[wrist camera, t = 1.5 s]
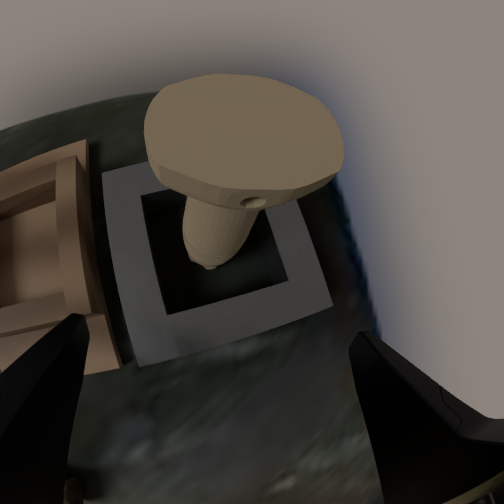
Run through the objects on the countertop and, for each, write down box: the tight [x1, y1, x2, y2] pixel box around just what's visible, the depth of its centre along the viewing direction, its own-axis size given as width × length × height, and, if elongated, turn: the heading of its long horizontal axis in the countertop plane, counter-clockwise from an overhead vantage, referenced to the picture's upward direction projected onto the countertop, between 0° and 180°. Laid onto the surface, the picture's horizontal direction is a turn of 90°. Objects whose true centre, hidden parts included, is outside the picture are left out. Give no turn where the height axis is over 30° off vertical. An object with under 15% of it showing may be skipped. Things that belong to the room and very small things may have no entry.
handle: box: [144, 74, 345, 270], centre depth 15 cm, size 5×6×15 cm
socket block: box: [102, 161, 333, 367], centre depth 20 cm, size 14×14×4 cm
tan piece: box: [0, 139, 123, 375], centre depth 16 cm, size 20×12×4 cm, turn 18°
